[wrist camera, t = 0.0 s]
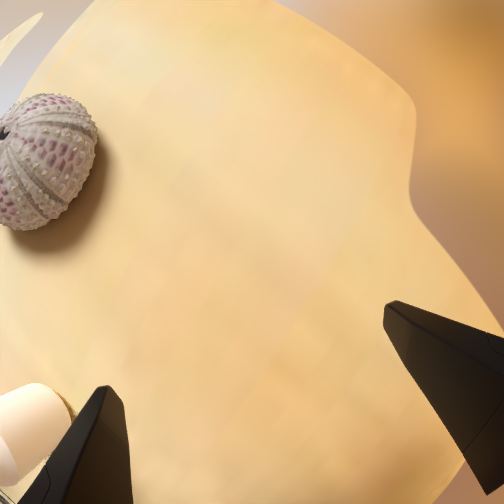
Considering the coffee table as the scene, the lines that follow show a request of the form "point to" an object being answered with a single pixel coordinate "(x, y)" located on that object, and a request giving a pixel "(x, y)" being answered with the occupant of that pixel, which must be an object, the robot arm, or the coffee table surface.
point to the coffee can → (4, 499)
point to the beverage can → (29, 429)
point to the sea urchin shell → (43, 158)
